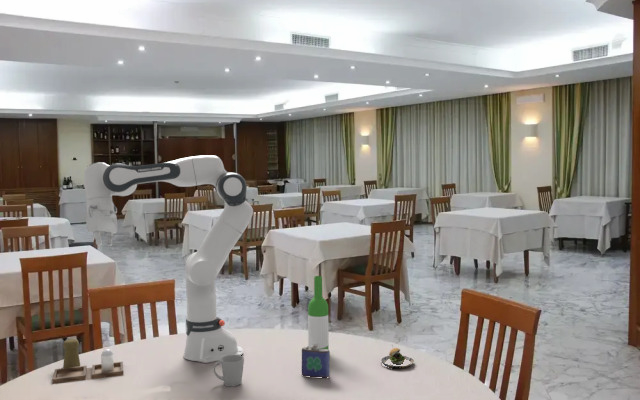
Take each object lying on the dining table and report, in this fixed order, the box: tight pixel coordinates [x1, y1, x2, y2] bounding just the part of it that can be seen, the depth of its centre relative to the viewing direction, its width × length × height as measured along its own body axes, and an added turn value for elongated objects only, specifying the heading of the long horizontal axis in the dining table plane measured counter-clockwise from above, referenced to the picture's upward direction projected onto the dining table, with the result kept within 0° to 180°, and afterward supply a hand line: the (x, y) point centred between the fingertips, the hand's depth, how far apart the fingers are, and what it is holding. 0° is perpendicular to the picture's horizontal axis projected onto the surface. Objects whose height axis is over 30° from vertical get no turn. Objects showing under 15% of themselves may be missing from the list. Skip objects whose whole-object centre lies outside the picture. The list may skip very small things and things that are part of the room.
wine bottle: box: [307, 275, 330, 351], centre depth 224 cm, size 8×8×30 cm
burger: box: [381, 345, 414, 369], centre depth 213 cm, size 12×12×8 cm
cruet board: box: [51, 361, 125, 385], centre depth 201 cm, size 22×12×3 cm, turn 110°
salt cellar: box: [100, 348, 115, 373], centre depth 203 cm, size 4×4×8 cm
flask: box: [301, 343, 331, 379], centre depth 201 cm, size 10×3×12 cm, turn 74°
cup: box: [213, 355, 245, 387], centre depth 195 cm, size 8×10×8 cm
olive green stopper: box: [62, 338, 81, 368], centre depth 208 cm, size 6×6×11 cm
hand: (104, 245), depth 211 cm, fingers open, 8 cm apart
